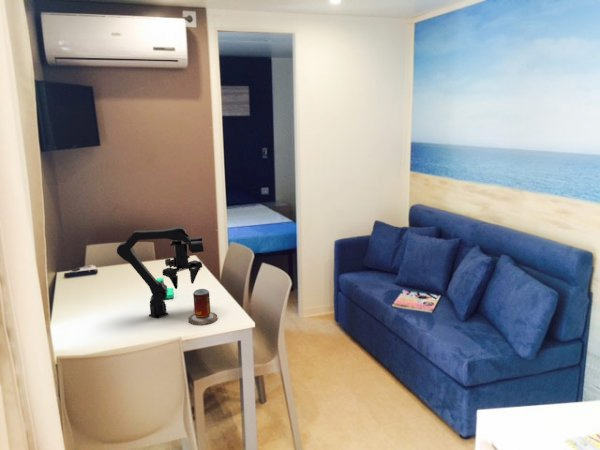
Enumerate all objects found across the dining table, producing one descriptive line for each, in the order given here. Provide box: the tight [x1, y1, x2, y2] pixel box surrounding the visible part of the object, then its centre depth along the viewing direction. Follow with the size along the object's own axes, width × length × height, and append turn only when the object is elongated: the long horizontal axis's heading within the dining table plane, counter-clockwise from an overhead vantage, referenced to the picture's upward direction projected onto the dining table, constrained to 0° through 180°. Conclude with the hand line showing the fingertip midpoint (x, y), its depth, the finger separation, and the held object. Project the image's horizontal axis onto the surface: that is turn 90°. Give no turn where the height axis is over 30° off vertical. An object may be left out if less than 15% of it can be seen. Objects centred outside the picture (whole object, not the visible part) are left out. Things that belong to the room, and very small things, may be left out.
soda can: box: [192, 288, 211, 319], centre depth 226 cm, size 7×7×12 cm
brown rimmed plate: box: [187, 311, 218, 326], centre depth 227 cm, size 13×13×1 cm
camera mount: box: [156, 277, 174, 299], centre depth 260 cm, size 12×8×10 cm, turn 14°
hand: (184, 286), depth 235 cm, fingers open, 9 cm apart
